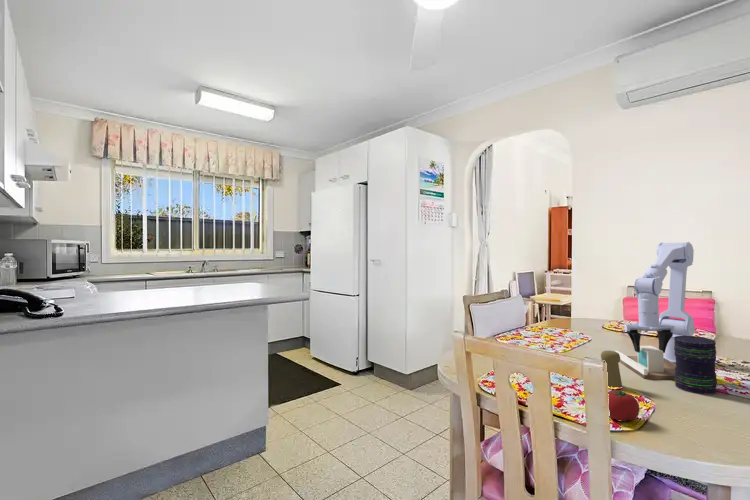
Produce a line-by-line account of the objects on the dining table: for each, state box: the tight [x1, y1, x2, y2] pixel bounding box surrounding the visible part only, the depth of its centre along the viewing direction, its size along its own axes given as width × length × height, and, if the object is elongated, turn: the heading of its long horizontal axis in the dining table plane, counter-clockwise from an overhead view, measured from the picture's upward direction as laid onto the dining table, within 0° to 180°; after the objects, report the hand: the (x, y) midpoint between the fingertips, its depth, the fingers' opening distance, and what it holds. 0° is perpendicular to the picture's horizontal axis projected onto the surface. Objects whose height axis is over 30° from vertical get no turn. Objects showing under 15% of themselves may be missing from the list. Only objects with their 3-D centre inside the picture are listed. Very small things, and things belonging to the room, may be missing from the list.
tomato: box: [608, 390, 641, 422], centre depth 98 cm, size 8×8×7 cm
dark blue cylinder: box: [674, 335, 718, 396], centre depth 115 cm, size 10×10×15 cm
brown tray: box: [614, 350, 676, 381], centre depth 134 cm, size 16×22×3 cm
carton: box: [637, 345, 664, 372], centre depth 131 cm, size 5×7×7 cm
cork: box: [600, 350, 623, 387], centre depth 119 cm, size 6×6×11 cm
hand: (649, 351), depth 131 cm, fingers open, 7 cm apart
